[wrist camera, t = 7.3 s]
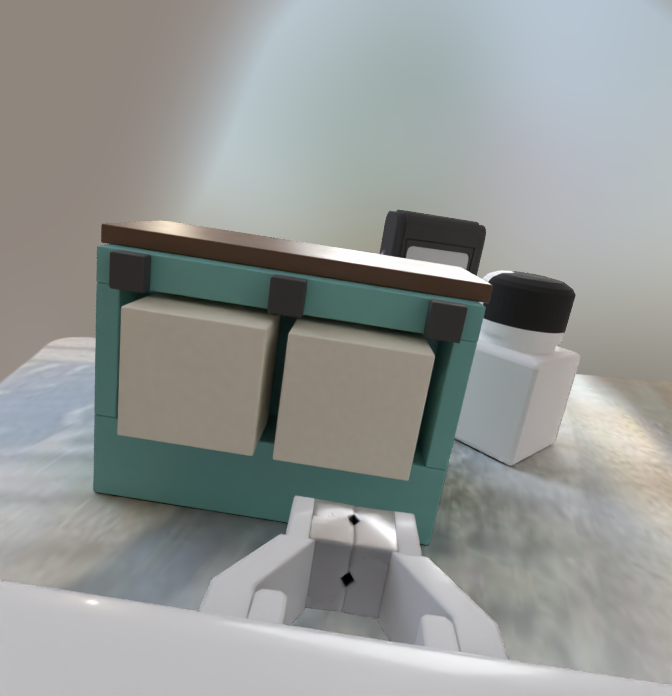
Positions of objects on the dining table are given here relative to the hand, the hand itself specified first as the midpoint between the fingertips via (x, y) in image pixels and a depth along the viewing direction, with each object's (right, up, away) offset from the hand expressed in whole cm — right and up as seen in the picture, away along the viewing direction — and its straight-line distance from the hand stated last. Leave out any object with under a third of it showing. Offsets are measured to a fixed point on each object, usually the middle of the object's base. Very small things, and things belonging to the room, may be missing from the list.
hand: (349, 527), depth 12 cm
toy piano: (-4, -2, +15) cm, 16 cm away
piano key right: (0, 0, +9) cm, 9 cm away
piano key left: (-6, +1, +10) cm, 11 cm away
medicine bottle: (+11, -2, +25) cm, 27 cm away
